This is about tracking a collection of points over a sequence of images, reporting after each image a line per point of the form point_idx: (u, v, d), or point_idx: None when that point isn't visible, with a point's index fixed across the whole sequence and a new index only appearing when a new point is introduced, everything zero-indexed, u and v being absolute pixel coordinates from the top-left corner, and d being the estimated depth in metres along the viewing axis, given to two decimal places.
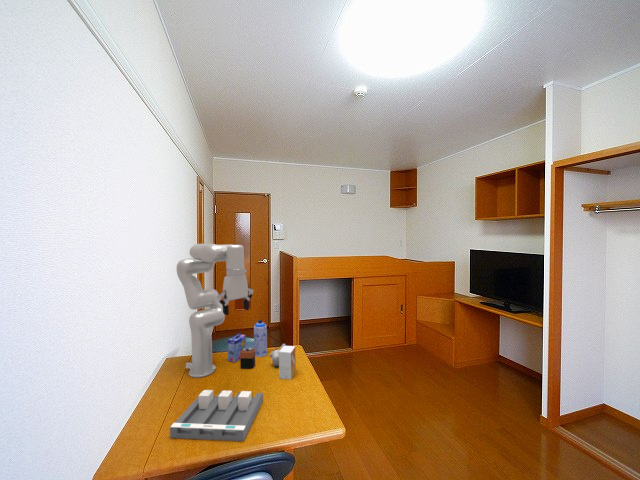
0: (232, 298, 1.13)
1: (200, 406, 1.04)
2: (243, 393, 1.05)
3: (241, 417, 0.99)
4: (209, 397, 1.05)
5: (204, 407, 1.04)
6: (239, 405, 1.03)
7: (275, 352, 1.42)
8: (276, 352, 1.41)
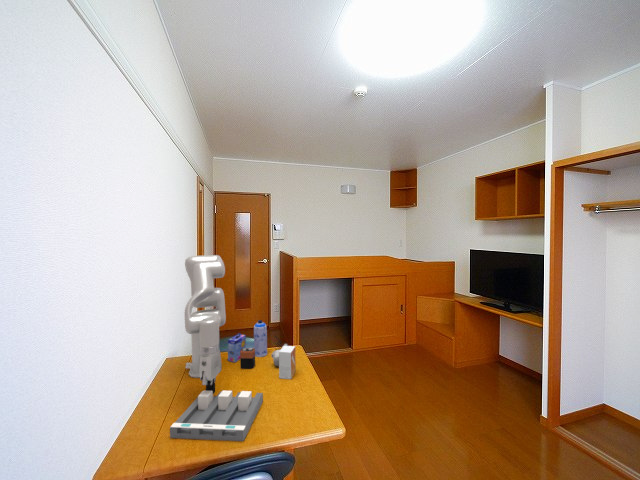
0: None
1: (199, 407, 1.04)
2: (243, 393, 1.05)
3: (241, 417, 0.99)
4: (209, 398, 1.05)
5: (204, 408, 1.04)
6: (239, 405, 1.03)
7: (276, 352, 1.42)
8: (277, 352, 1.41)
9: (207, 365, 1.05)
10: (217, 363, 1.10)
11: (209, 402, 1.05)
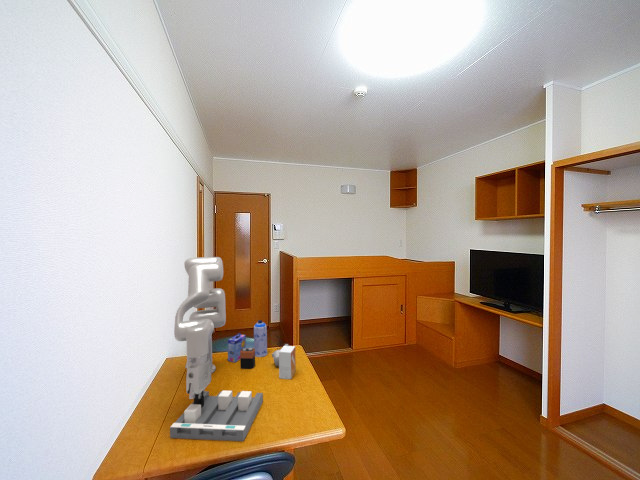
0: None
1: None
2: (243, 393, 1.05)
3: (241, 417, 0.99)
4: (197, 413, 0.96)
5: None
6: (239, 405, 1.03)
7: (277, 352, 1.42)
8: (278, 352, 1.42)
9: (194, 377, 0.96)
10: (206, 374, 1.01)
11: (197, 417, 0.96)
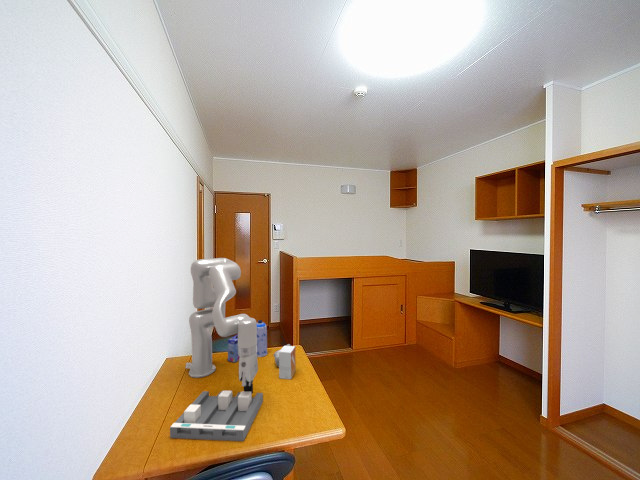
0: None
1: None
2: (242, 394, 1.05)
3: (241, 417, 0.99)
4: (196, 413, 0.96)
5: None
6: (239, 405, 1.03)
7: (278, 352, 1.42)
8: None
9: (247, 366, 1.04)
10: (255, 364, 1.09)
11: (196, 418, 0.96)
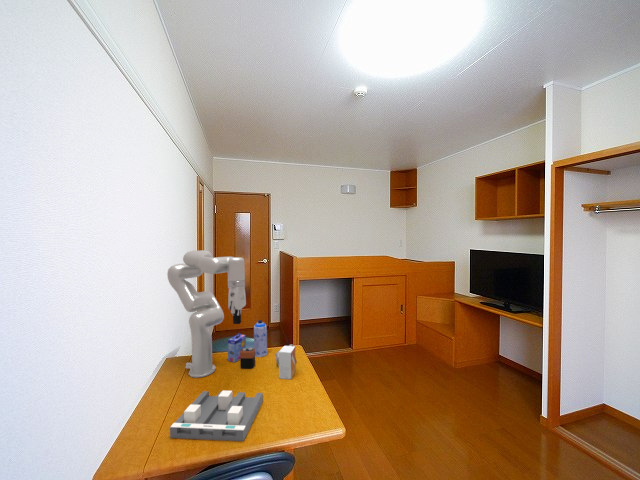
0: None
1: None
2: (233, 409, 0.95)
3: None
4: (196, 413, 0.96)
5: None
6: (229, 422, 0.93)
7: None
8: None
9: (235, 296, 1.18)
10: (243, 297, 1.24)
11: (196, 418, 0.96)
